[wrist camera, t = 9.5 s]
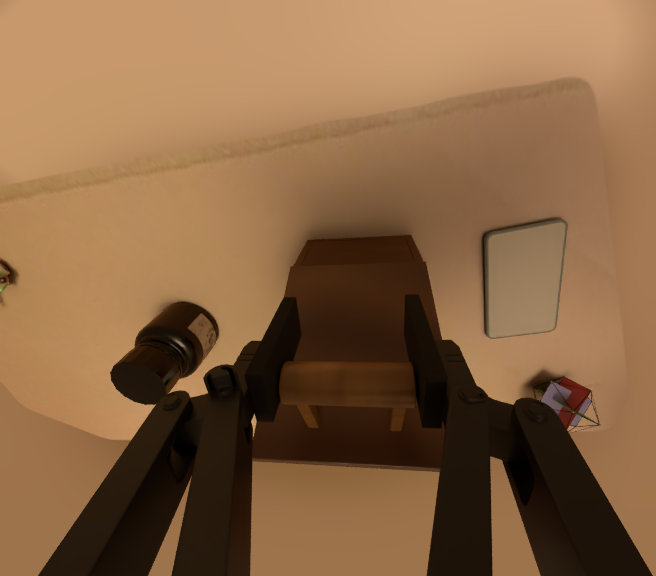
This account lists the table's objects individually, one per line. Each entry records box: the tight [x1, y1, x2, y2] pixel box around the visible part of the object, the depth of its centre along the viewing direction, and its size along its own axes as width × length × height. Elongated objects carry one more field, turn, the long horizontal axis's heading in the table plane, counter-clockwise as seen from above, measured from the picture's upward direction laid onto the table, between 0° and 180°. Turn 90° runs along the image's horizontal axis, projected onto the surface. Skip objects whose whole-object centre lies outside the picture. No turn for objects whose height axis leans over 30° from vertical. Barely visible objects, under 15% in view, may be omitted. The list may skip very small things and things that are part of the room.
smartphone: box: [484, 219, 568, 339], centre depth 36 cm, size 8×1×15 cm
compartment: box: [294, 235, 423, 266], centre depth 36 cm, size 16×13×9 cm
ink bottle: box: [110, 303, 218, 405], centre depth 40 cm, size 10×9×12 cm
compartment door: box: [252, 262, 445, 472], centre depth 20 cm, size 16×13×8 cm
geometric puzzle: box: [533, 376, 601, 432], centre depth 40 cm, size 7×7×8 cm
